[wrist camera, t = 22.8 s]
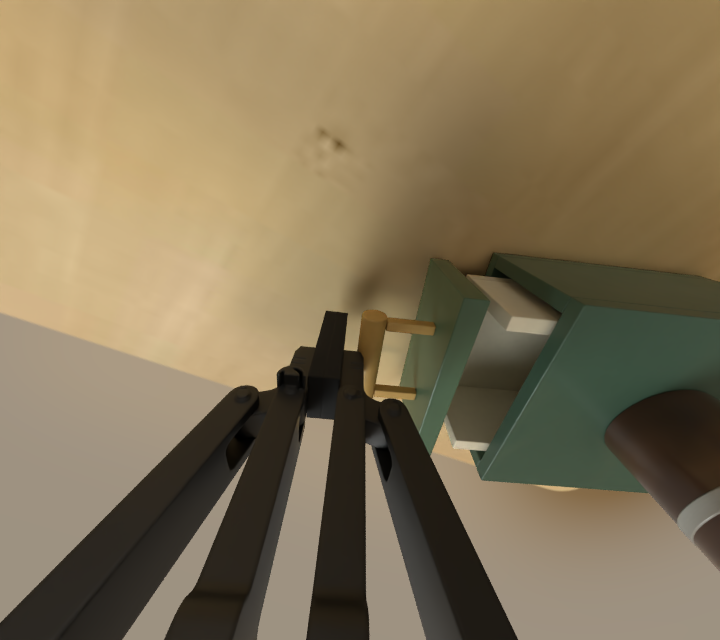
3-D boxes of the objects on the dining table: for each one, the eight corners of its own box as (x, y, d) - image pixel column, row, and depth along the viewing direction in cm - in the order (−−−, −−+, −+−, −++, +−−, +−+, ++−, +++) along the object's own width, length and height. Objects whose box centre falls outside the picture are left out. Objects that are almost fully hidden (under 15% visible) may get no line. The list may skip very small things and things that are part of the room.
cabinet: (444, 387, 23) (481, 480, 16) (493, 252, 17) (585, 304, 10) (600, 401, 23) (703, 497, 16) (699, 275, 18) (924, 341, 11)
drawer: (351, 380, 21) (346, 450, 16) (366, 250, 16) (368, 287, 11) (553, 399, 22) (615, 471, 17) (630, 280, 17) (759, 329, 11)
